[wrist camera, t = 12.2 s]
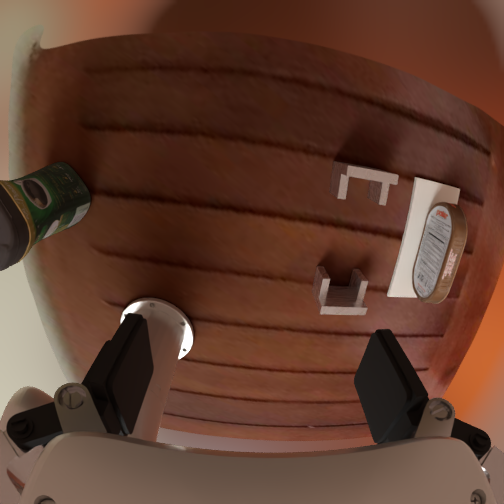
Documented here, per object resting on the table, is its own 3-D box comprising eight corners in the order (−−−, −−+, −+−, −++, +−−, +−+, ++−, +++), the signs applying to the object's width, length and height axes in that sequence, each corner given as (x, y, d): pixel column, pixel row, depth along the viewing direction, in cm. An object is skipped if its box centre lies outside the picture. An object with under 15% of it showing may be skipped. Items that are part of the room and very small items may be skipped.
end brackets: (378, 169, 36) (398, 175, 30) (352, 293, 43) (365, 315, 37) (333, 161, 35) (347, 165, 30) (311, 291, 42) (319, 314, 37)
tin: (418, 287, 42) (443, 314, 34) (403, 286, 42) (427, 315, 34) (442, 197, 36) (476, 212, 28) (427, 194, 36) (460, 208, 28)
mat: (428, 295, 43) (430, 297, 43) (386, 294, 43) (388, 296, 42) (457, 188, 36) (460, 189, 35) (415, 177, 36) (417, 177, 35)
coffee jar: (39, 189, 36) (-45, 225, 19) (64, 152, 34) (-28, 174, 17) (73, 232, 39) (-5, 288, 22) (101, 199, 37) (16, 245, 20)
